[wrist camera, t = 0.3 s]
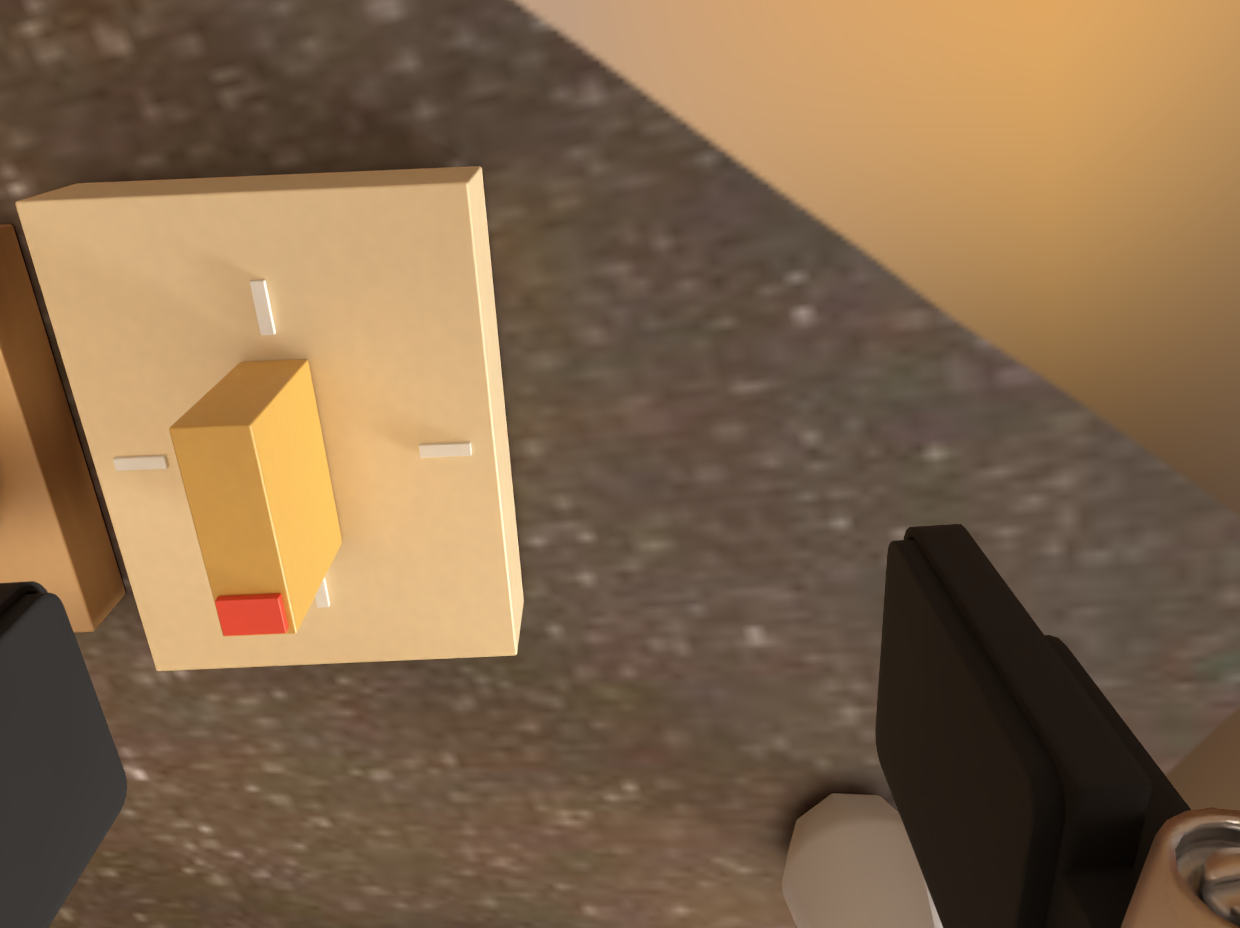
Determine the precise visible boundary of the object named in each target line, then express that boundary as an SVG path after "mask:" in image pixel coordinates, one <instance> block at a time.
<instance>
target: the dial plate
mask: <svg viewBox="0 0 1240 928" xmlns="http://www.w3.org/2000/svg"><path fill="white" fill-rule="evenodd" d="M15 205H16V208H17V211H18V215H19V218H20V221H21V224H22V228H23V231H24V234H25V238H26V241H27V244H28V248H29V251H30V254H31V257H32V261H33V264H34V267H35V271H36V274H37V277H38V281H39V284H40V287H41V290H42V294H43V297H44V300H45V304H46V307H47V310H48V314H49V317H50V320H51V323H52V327H53V330H54V333H55V337H56V340H57V343H58V347H59V350H60V353H61V356H62V360H63V363H64V366H65V370H66V373H67V376H68V380H69V383H70V386H71V389H72V393H73V396H74V399H75V403H76V406H77V409H78V412H79V416H80V419H81V422H82V426H83V429H84V432H85V436H86V439H87V442H88V445H89V449H90V452H91V455H92V459H93V462H94V465H95V469H96V472H97V475H98V478H99V482H100V485H101V488H102V492H103V495H104V498H105V502H106V505H107V508H108V511H109V515H110V518H111V521H112V525H113V528H114V531H115V535H116V538H117V541H118V544H119V548H120V551H121V554H122V558H123V561H124V564H125V568H126V571H127V574H128V577H129V581H130V584H131V587H132V591H133V594H134V597H135V601H136V604H137V607H138V610H139V614H140V617H141V620H142V624H143V627H144V630H145V634H146V637H147V640H148V643H149V647H150V650H151V653H152V657H153V660H154V663H155V667H156V670H157V671H172V670H194V669H217V668H240V667H262V666H285V665H308V664H330V663H353V662H376V661H398V660H421V659H444V658H466V657H489V656H512V655H516V654H517V649H518V641H519V633H520V626H521V618H522V610H523V603H524V599H523V589H522V578H521V568H520V558H519V547H518V537H517V527H516V516H515V506H514V496H513V485H512V475H511V465H510V454H509V444H508V434H507V423H506V413H505V403H504V392H503V382H502V372H501V361H500V351H499V341H498V330H497V320H496V310H495V299H494V289H493V279H492V268H491V258H490V248H489V237H488V227H487V217H486V206H485V196H484V186H483V175H482V168H481V167H480V166H470V167H447V168H424V169H400V170H377V171H354V172H330V173H307V174H284V175H260V176H237V177H214V178H190V179H167V180H144V181H120V182H97V183H77V184H73V185H70V186H67V187H63V188H60V189H56V190H53V191H50V192H46V193H43V194H39V195H36V196H33V197H29V198H26V199H23V200H19V201H17V202H15ZM297 359H307V360H308V362H309V367H310V372H311V378H312V383H313V388H314V394H315V399H316V404H317V410H318V415H319V420H320V426H321V431H322V436H323V442H324V447H325V452H326V458H327V463H328V468H329V474H330V479H331V484H332V490H333V495H334V500H335V506H336V511H337V516H338V522H339V527H340V532H341V538H342V543H341V545H340V547H339V549H338V551H337V553H336V555H335V557H334V559H333V561H332V563H331V565H330V567H329V569H328V571H327V573H326V575H325V577H324V579H323V581H322V583H321V585H320V587H319V589H318V591H317V593H316V595H315V597H314V599H313V601H312V603H311V605H310V607H309V609H308V611H307V613H306V615H305V617H304V619H303V621H302V623H301V625H300V627H299V629H298V631H297V633H295V634H276V635H253V636H231V637H224V636H223V634H222V630H221V626H220V622H219V619H218V615H217V611H216V607H215V603H214V599H213V596H212V592H211V588H210V584H209V580H208V576H207V573H206V569H205V565H204V561H203V557H202V553H201V550H200V546H199V542H198V538H197V534H196V531H195V527H194V523H193V519H192V515H191V511H190V508H189V504H188V500H187V496H186V492H185V488H184V485H183V481H182V477H181V473H180V469H179V466H178V462H177V458H176V454H175V450H174V446H173V443H172V439H171V435H170V431H169V428H170V427H171V426H172V425H173V424H174V423H175V422H176V421H177V420H178V419H179V418H180V417H182V416H183V415H184V414H185V413H186V412H187V411H188V410H189V409H190V408H191V407H192V406H193V405H194V404H196V403H197V402H198V401H199V400H200V399H201V398H202V397H203V396H204V395H205V394H206V393H207V392H208V391H210V390H211V389H212V388H213V387H214V386H215V385H216V384H217V383H218V382H219V381H220V380H221V379H222V378H224V377H225V376H226V375H227V374H228V373H229V372H230V371H231V370H232V369H233V368H234V367H235V366H236V365H238V364H239V363H240V362H251V361H274V360H297Z"/></svg>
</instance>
